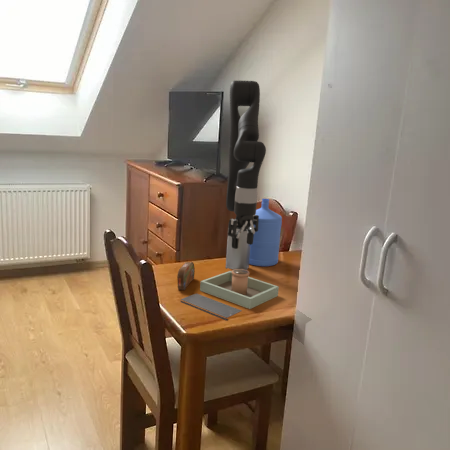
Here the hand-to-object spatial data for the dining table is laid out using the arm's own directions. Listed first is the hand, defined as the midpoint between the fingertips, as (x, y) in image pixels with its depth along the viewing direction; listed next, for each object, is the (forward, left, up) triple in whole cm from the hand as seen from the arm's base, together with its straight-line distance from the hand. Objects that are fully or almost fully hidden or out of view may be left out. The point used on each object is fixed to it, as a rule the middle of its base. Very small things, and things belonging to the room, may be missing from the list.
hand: (242, 246), depth 167 cm
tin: (+8, -19, -19) cm, 28 cm away
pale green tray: (0, 0, -18) cm, 18 cm away
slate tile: (+15, 0, -18) cm, 24 cm away
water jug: (-40, -18, -19) cm, 47 cm away
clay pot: (0, 0, -17) cm, 17 cm away
